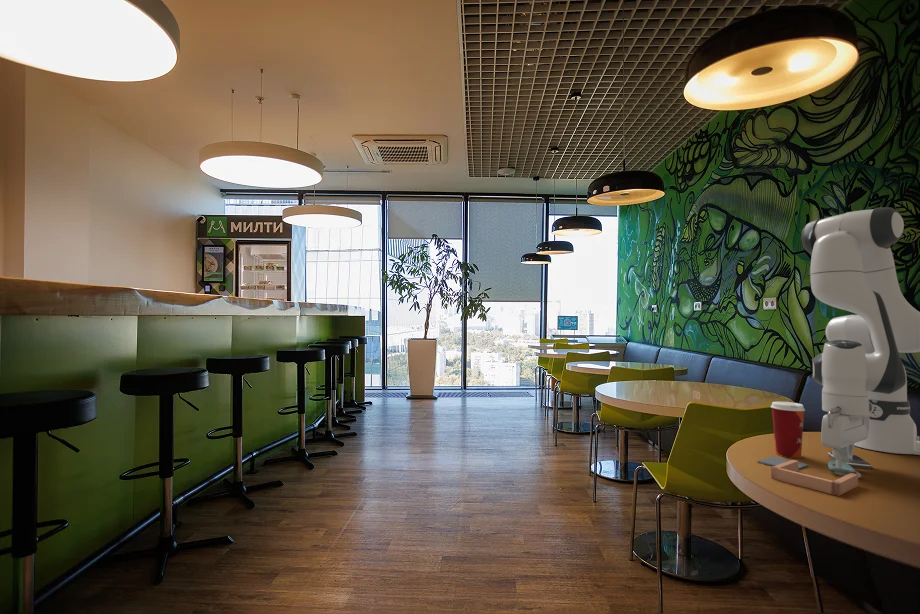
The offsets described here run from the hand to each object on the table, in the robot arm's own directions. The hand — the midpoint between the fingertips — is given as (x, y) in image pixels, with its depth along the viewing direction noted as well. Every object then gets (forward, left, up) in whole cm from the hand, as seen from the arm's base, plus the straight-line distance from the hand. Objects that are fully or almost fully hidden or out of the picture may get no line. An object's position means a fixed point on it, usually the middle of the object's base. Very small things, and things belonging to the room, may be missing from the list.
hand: (845, 461), depth 111 cm
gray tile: (+10, -10, -2) cm, 14 cm away
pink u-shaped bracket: (+19, 0, -2) cm, 19 cm away
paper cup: (-1, -13, -2) cm, 13 cm away
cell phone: (-8, -2, -2) cm, 8 cm away
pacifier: (+6, +2, -2) cm, 7 cm away
